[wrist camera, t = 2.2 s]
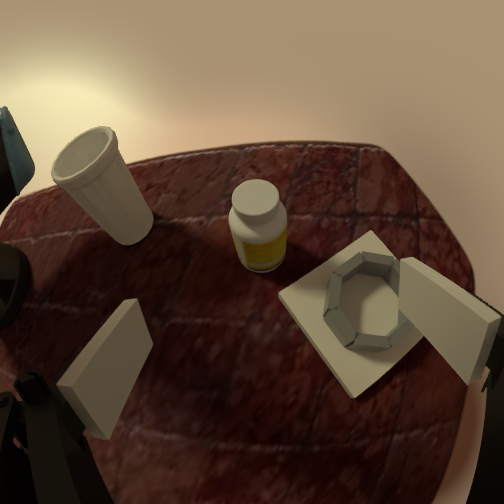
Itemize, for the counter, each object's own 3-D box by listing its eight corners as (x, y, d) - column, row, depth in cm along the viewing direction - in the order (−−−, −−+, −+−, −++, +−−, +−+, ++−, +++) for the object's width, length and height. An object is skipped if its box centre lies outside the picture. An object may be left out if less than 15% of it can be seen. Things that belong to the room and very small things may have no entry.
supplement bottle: (296, 251, 31) (301, 196, 22) (261, 283, 30) (253, 236, 21) (262, 223, 33) (256, 164, 25) (228, 252, 32) (209, 198, 23)
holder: (278, 297, 29) (278, 281, 25) (367, 236, 31) (378, 215, 27) (350, 397, 23) (363, 399, 19) (435, 320, 25) (455, 308, 21)
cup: (162, 196, 37) (121, 116, 24) (160, 246, 33) (105, 166, 20) (112, 209, 37) (63, 140, 24) (106, 258, 33) (40, 191, 20)
